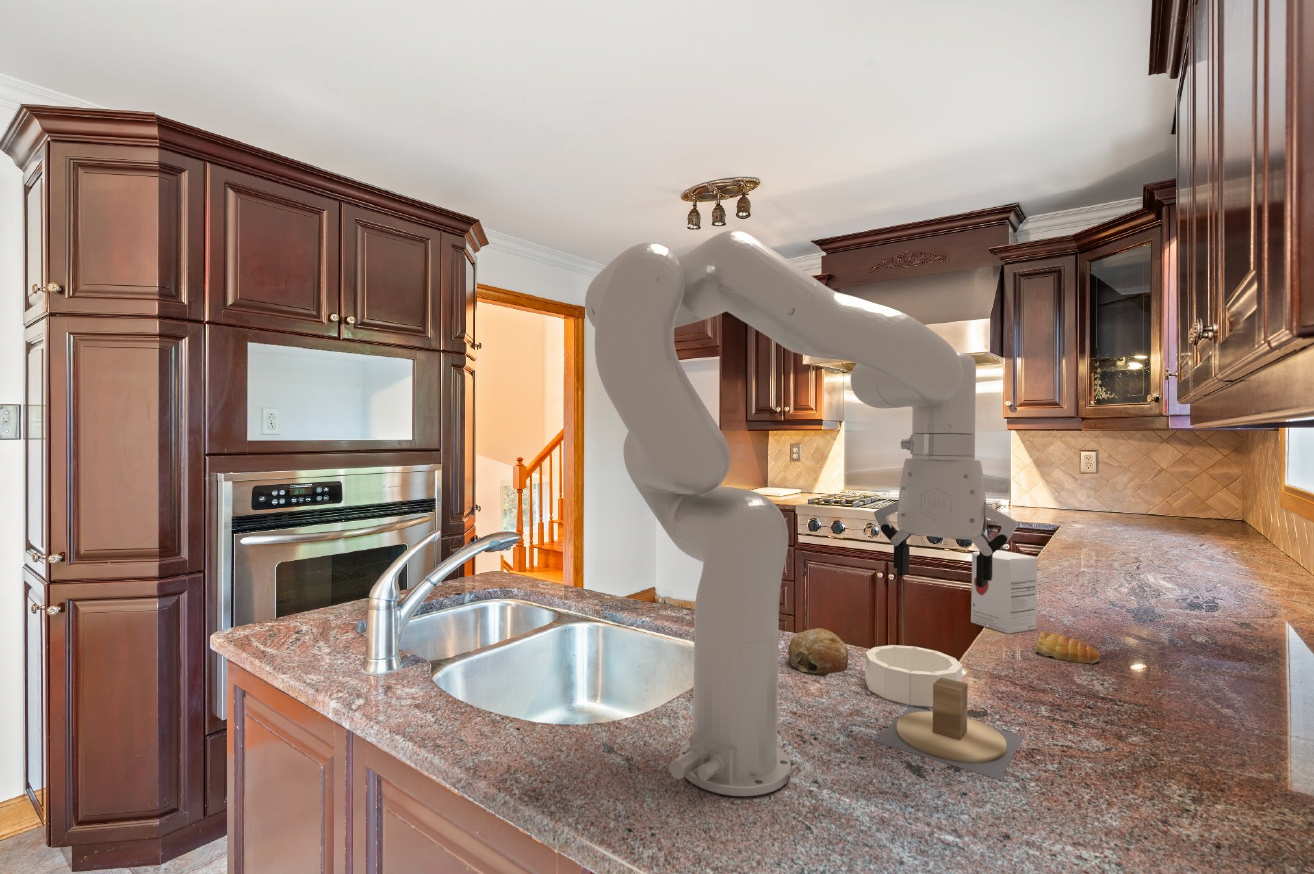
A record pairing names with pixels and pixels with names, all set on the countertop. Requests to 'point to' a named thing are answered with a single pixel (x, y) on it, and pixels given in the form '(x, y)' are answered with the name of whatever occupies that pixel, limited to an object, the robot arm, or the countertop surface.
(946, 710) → the lid
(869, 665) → the bowl
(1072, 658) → the pastry
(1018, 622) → the supplement box
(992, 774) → the mat
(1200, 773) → the countertop surface
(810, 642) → the bread roll
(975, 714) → the countertop surface
